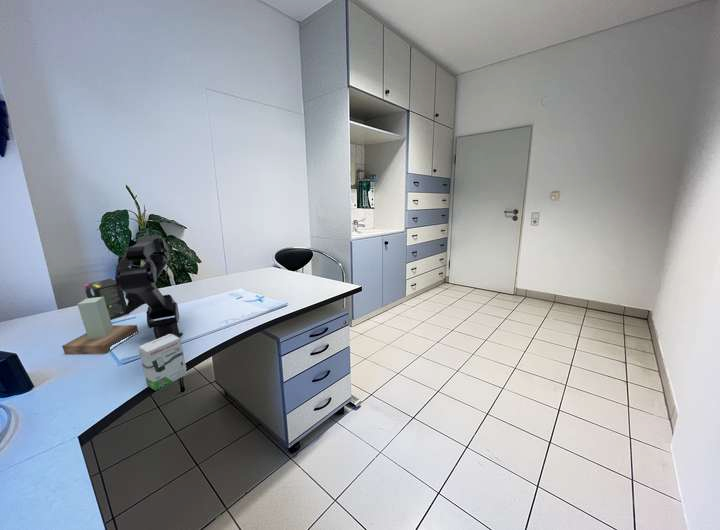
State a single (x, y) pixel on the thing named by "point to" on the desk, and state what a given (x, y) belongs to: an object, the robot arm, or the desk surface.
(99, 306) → the sage block
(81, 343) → the walnut base board
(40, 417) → the desk surface
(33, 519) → the desk surface
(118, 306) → the tampon box
